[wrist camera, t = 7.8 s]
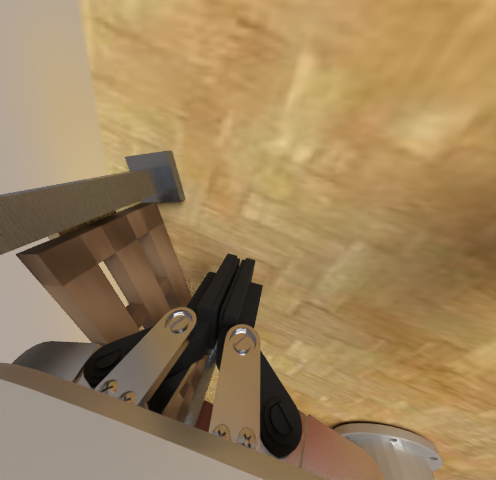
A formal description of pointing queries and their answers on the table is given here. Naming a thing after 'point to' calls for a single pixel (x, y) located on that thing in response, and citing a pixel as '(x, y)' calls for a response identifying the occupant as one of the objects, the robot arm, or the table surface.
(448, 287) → the table surface
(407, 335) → the table surface
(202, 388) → the hinge post
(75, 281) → the gate
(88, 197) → the post
